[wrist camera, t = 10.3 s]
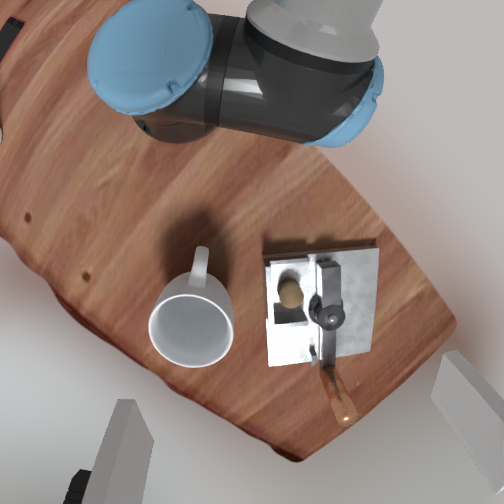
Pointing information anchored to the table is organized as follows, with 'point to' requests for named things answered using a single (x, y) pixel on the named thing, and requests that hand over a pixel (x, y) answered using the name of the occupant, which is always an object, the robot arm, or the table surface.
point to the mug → (193, 317)
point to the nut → (290, 293)
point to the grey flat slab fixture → (302, 317)
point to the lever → (332, 340)
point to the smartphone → (9, 34)
